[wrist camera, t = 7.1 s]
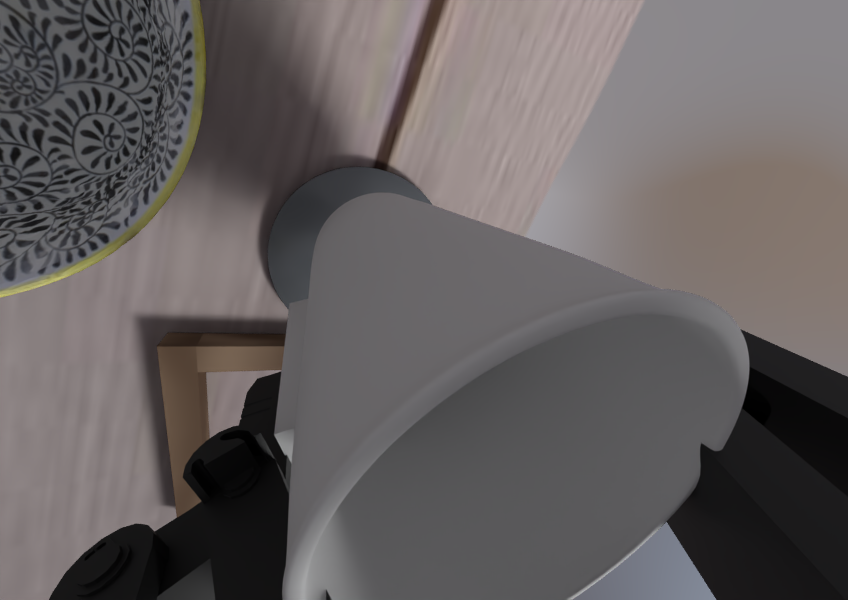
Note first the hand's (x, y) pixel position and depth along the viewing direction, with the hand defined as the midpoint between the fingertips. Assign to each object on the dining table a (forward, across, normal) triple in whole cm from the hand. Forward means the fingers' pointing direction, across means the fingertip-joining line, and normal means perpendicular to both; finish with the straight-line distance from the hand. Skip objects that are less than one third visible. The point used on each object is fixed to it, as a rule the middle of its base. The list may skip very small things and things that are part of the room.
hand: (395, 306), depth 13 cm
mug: (+2, 0, 0) cm, 2 cm away
